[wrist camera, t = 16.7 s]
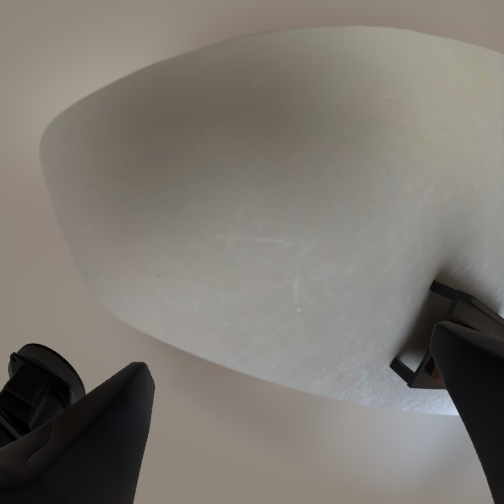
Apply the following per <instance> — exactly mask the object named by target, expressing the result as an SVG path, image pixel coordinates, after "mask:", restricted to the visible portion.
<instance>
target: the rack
mask: <svg viewBox="0 0 504 504" xmlns="http://www.w3.org/2000/svg"><path fill="white" fill-rule="evenodd" d="M430 290H432V291H433V292H435V293H438V294H440V295H442V296H444V297H446V298H448V299H450V300H452V304H451V306H450V308H449V310H448V313H447V315H446V317H445V319H444V321H448V322H451V323H454V324H457V325H460V326H463V327H466V326H468V325H470V326H472V327H474V328H476V329H477V330H479V331H481V332H483V333H484V334H487V335H489V336H492V337H495V338H498V339H501V340H504V319H503V318H502V317H501V316H499V315H498V314H497V313H495V312H494V311H493V310H491V309H490V308H489V307H487V306H486V305H485V304H483V303H482V302H481V301H479V300H478V299H477V298H475V297H474V296H472V295H469V294H467V293H465V292H462V291H460V290H455V289H453V288H451V287H448V286H446V285H444V284H441V283H439V282H437V281H434V282H433V284H432V286H431V289H430ZM434 366H435V361H434V359H433V357H432V354H431V352H430V349H429V350H428V351H427V353H426V355H425V357H424V358H423V360H422V362H421V363H420V365H419V367H418V368H417V370H416V371H415V373H414V372H413V371H412V370H411V369H410V368H408V367H407V366H406V365H405V364H404V363H403V362H402V361H400V360H397V359H394V360H393V362H392V364H391V365H390V368H392V369H393V370H394V371H395V372H396V373H397V374H398V375H399V376H400V377H401V378H402V379H403V380H404V381H405V382H406V383H408V384H407V385H408V386H409V387H410V388H421V389H445V388H444V387H443V386H442V385H440V384H439V383H438V382H437V381H436V380H434V379H433V378H432V377H431V375H432V372H433V369H434Z"/></svg>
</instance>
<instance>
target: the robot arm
mask: <svg viewBox="0 0 504 504" xmlns="http://www.w3.org/2000/svg"><path fill="white" fill-rule="evenodd" d="M429 349H430V352H431V354H432V357H433V359H434V361H435V364H436V366H437V368H438V371H439V373H440V375H441V378H442V380H443V382H444V385H445V387H446V389H447V391H448V393H449V395H450V397H451V399H452V401H453V403H454V405H455V407H456V409H457V411H458V413H459V415H460V417H461V419H462V421H463V423H464V425H465V427H466V429H467V431H468V434H469V436H470V438H471V441H472V443H473V445H474V448H475V450H476V452H477V455H478V457H479V460H480V462H481V465H482V467H483V470H484V473H485V476H486V477H487V478H486V479H487V482H488V485H489V488H490V491H491V494H492V497H493V500H494V504H504V340H501V339H498V338H495V337H492V336H489V335H487V334H484V333H481V332H478V331H475V330H472V329H469V328H466V327H463V326H460V325H457V324H454V323H451V322H448V321H442V322H439V323H437V324H435V326H434V328H433V332H432V336H431V340H430V344H429ZM10 361H11V370H12V377H11V378H10V379H9V381H8V382H7V383H6V384H5V385H4V388H3V389H2V390H1V392H0V504H133V501H134V497H135V491H136V486H137V482H138V477H139V472H140V467H141V463H142V459H143V454H144V450H145V446H146V441H147V438H148V433H149V428H150V421H151V413H152V405H153V398H154V391H155V384H154V380H153V378H152V376H151V373H150V371H149V369H148V366H147V365H146V363H144V362H132V363H130V364H129V365H128V366H126V367H125V368H123V369H122V370H120V371H119V372H118V373H116V374H115V375H114V376H112V377H111V378H110V379H108V380H106V381H105V382H104V383H102V384H101V385H99V386H98V387H96V388H95V389H94V390H92V391H91V392H89V393H88V394H86V395H85V396H84V397H82V398H81V399H79V400H78V401H76V402H75V403H73V404H72V386H71V385H70V384H69V383H68V382H66V381H64V380H62V379H60V378H59V377H57V376H55V375H53V374H51V373H49V372H47V371H45V370H44V369H42V368H40V367H38V366H36V365H35V364H33V363H31V362H30V361H28V360H26V359H25V358H23V357H21V356H20V355H18V354H17V353H15V352H13V353H12V354H11V355H10ZM66 387H67V388H66Z"/></svg>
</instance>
